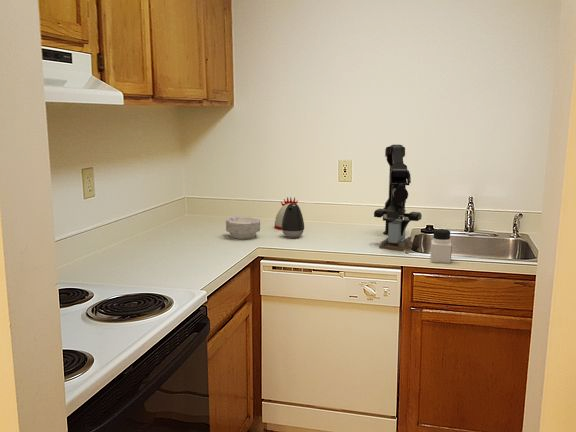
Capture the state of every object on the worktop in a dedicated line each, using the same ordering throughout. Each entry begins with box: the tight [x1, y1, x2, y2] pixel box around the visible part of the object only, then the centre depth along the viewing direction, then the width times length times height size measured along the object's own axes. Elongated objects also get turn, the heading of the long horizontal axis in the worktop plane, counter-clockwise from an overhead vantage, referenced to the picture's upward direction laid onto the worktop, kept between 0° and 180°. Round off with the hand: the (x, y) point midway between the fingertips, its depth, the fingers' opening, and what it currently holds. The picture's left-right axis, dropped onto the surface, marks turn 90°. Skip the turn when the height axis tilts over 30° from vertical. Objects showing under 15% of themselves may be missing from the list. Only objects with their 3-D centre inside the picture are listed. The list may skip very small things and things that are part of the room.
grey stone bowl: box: [225, 216, 261, 240], centre depth 261 cm, size 15×15×8 cm
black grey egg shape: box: [281, 203, 305, 239], centre depth 261 cm, size 10×10×15 cm
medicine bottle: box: [430, 228, 453, 264], centre depth 221 cm, size 7×7×12 cm
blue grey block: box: [387, 219, 406, 243], centre depth 244 cm, size 10×4×8 cm, turn 152°
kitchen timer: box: [274, 196, 299, 231], centre depth 281 cm, size 14×14×15 cm
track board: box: [378, 236, 414, 252], centre depth 245 cm, size 14×10×3 cm
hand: (396, 235), depth 245 cm, fingers closed on blue grey block, 4 cm apart
